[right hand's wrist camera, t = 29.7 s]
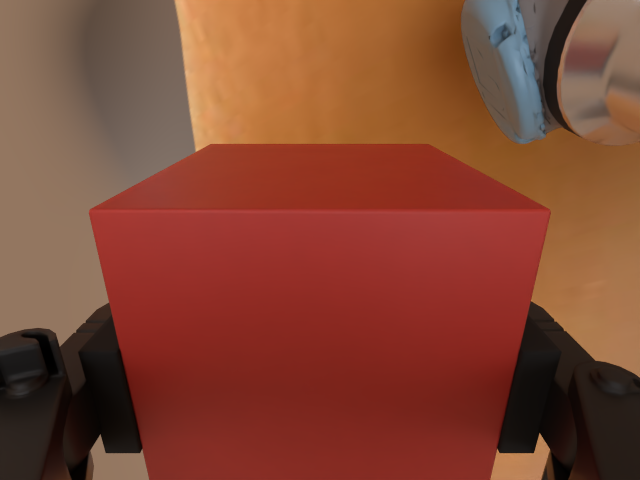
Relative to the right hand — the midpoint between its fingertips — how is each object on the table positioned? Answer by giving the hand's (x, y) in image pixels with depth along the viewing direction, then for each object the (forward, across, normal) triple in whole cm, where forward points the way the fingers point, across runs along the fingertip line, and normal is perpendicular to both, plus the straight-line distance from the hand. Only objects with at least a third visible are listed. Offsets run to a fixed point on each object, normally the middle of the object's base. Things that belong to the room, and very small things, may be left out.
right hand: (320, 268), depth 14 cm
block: (+2, 0, 0) cm, 2 cm away
